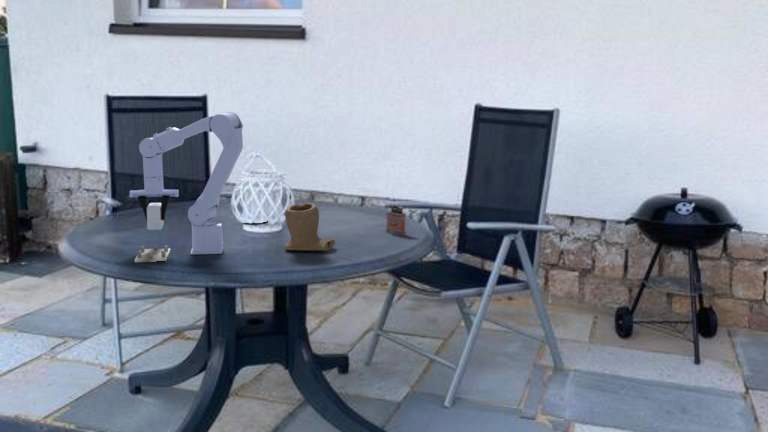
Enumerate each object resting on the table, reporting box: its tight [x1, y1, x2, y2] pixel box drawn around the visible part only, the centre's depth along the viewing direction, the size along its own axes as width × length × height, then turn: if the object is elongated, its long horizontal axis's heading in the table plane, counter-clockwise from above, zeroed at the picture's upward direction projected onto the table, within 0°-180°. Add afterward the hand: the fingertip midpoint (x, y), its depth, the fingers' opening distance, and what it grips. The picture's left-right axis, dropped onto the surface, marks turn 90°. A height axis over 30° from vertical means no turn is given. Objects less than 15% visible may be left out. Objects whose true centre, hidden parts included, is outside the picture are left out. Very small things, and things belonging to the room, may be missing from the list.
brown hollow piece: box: [284, 202, 336, 252], centre depth 248 cm, size 15×12×15 cm
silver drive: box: [146, 202, 165, 231], centre depth 247 cm, size 4×8×7 cm, turn 9°
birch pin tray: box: [133, 243, 172, 263], centre depth 239 cm, size 9×14×2 cm, turn 9°
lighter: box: [385, 203, 407, 236], centre depth 275 cm, size 8×3×10 cm, turn 47°
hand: (155, 219), depth 247 cm, fingers closed on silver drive, 4 cm apart
